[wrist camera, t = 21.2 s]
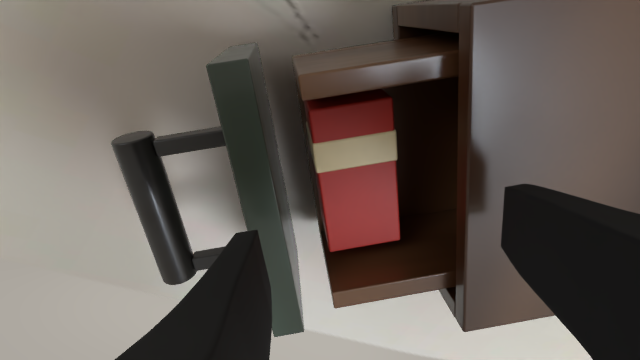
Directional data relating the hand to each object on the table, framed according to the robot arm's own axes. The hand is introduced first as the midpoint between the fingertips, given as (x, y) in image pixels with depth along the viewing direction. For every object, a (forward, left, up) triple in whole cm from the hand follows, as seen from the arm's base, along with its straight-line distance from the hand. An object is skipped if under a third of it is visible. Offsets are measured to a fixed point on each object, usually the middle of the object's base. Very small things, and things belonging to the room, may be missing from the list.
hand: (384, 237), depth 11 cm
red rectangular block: (0, 0, -7) cm, 7 cm away
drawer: (0, 0, -8) cm, 8 cm away
